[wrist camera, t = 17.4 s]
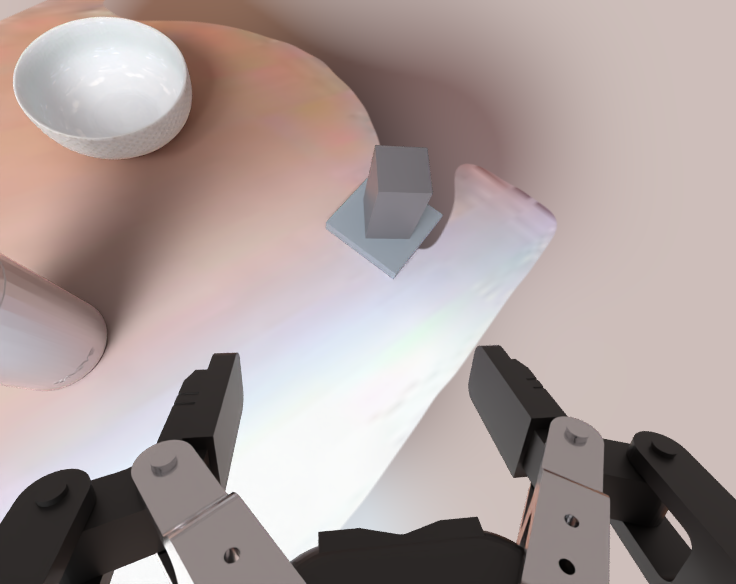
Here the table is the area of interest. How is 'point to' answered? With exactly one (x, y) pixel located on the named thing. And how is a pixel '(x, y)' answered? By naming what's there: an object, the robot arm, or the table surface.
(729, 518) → the robot arm
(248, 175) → the table surface
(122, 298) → the table surface
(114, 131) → the cereal bowl
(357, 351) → the table surface
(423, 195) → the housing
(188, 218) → the table surface
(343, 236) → the stub base
